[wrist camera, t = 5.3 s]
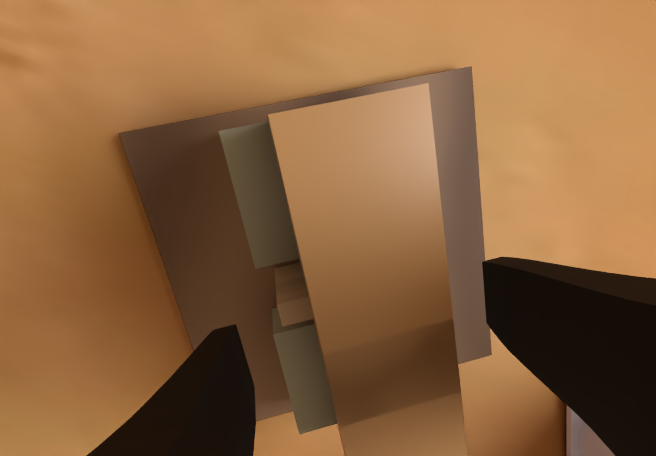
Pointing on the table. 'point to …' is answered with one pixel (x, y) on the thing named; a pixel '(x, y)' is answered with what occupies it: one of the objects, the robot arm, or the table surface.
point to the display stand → (288, 237)
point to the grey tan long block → (376, 268)
